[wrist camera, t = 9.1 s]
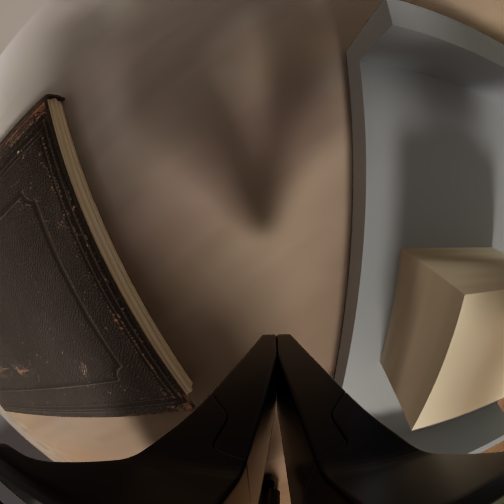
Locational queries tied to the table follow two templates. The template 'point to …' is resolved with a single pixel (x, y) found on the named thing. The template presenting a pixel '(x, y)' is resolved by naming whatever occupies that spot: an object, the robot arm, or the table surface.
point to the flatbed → (418, 189)
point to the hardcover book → (70, 291)
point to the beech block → (446, 333)
